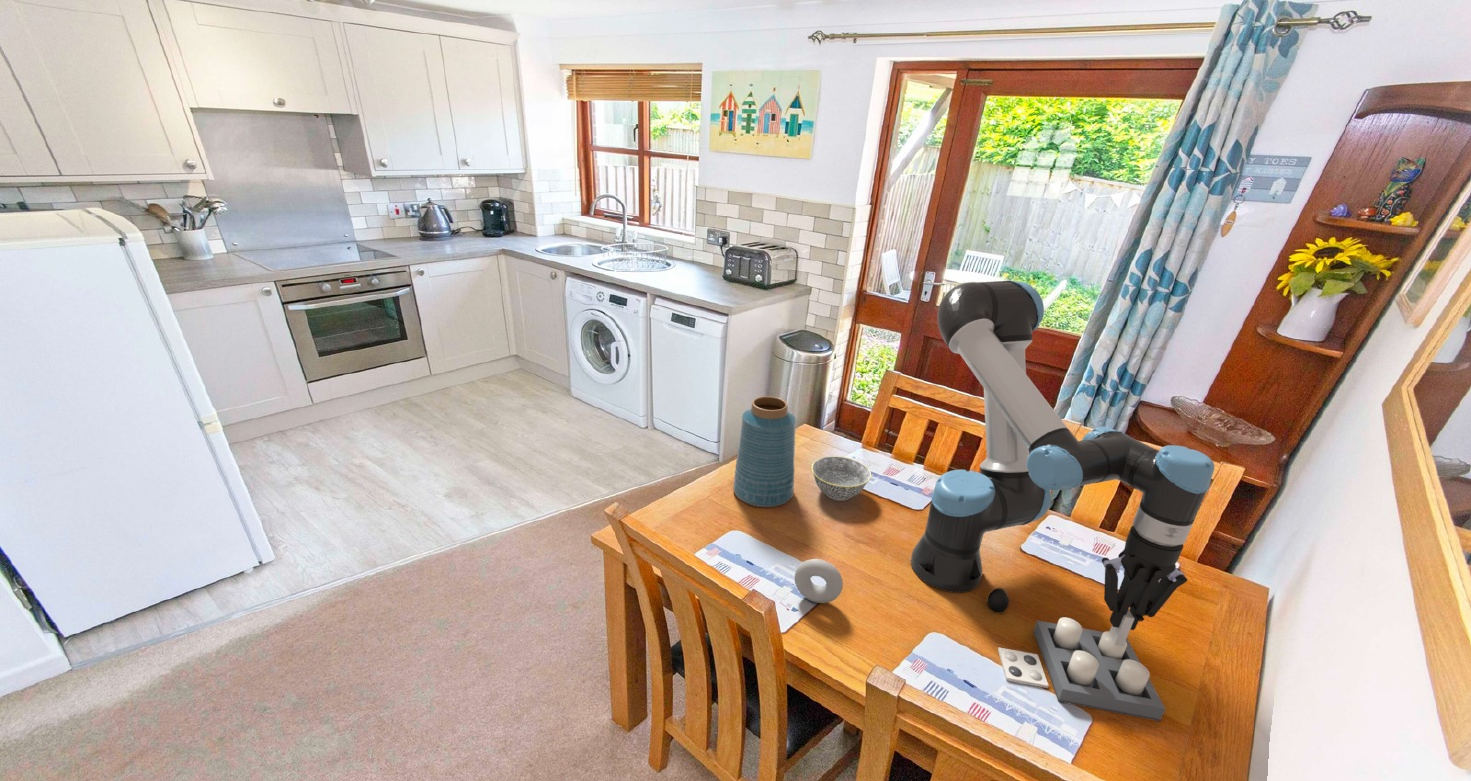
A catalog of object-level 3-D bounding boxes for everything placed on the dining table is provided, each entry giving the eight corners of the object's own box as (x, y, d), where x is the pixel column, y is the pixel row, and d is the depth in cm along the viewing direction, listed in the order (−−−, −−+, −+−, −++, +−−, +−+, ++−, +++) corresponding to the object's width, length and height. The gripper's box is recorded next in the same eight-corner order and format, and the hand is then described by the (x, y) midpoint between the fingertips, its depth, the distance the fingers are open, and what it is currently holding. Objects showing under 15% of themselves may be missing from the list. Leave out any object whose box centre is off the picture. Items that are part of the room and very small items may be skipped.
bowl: (809, 475, 165) (812, 452, 162) (865, 481, 163) (868, 458, 160) (808, 506, 150) (811, 482, 147) (869, 514, 149) (873, 489, 146)
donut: (841, 600, 119) (847, 562, 115) (838, 612, 116) (844, 573, 112) (794, 588, 122) (798, 550, 118) (790, 598, 119) (794, 560, 115)
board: (1058, 701, 99) (1062, 688, 98) (1033, 631, 114) (1036, 620, 113) (1159, 721, 97) (1165, 708, 96) (1120, 647, 111) (1125, 635, 110)
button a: (1070, 683, 100) (1077, 666, 98) (1063, 664, 103) (1069, 648, 102) (1095, 688, 99) (1102, 671, 98) (1087, 669, 103) (1093, 652, 101)
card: (1006, 679, 103) (1007, 677, 103) (997, 649, 109) (998, 646, 109) (1047, 687, 102) (1048, 685, 102) (1036, 656, 108) (1037, 653, 108)
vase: (748, 515, 146) (754, 421, 135) (723, 482, 159) (727, 394, 149) (804, 502, 152) (814, 411, 141) (776, 472, 166) (783, 387, 155)
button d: (1100, 661, 106) (1107, 645, 105) (1092, 645, 110) (1098, 629, 108) (1124, 666, 106) (1131, 650, 104) (1115, 649, 109) (1121, 633, 108)
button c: (1056, 647, 107) (1062, 631, 106) (1050, 631, 111) (1055, 615, 109) (1079, 651, 106) (1085, 635, 105) (1072, 635, 110) (1078, 619, 109)
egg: (1008, 617, 117) (1014, 598, 115) (987, 613, 118) (993, 594, 116) (1003, 602, 121) (1009, 584, 119) (983, 599, 122) (988, 581, 120)
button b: (1120, 692, 99) (1128, 675, 97) (1111, 673, 102) (1118, 657, 101) (1146, 697, 98) (1154, 680, 96) (1136, 678, 101) (1143, 661, 100)
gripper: (1124, 541, 95) (1085, 648, 104) (1212, 554, 92) (1164, 662, 101) (1107, 515, 101) (1071, 618, 111) (1188, 527, 99) (1145, 630, 108)
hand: (1116, 639), depth 106 cm, fingers closed
